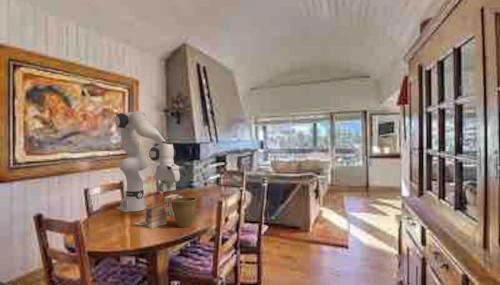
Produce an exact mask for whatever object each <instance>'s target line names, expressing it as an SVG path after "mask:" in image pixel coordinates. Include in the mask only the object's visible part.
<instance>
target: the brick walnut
mask: <svg viewBox="0 0 500 285" xmlns="http://www.w3.org/2000/svg"><path fill="white" fill-rule="evenodd" d="M145 211H146V212H145V213H146V215H145V217H150V218H153V217H157V216H161V215H164V214H165V206H164V205H161V204H160V205H155V206H150V207H146V209H145Z"/></svg>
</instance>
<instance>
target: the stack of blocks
mask: <svg viewBox="0 0 500 285" xmlns="http://www.w3.org/2000/svg"><path fill="white" fill-rule="evenodd" d="M182 197H184V196H183V195H180V194H168V195H167V196H165V197H163V201H164V202H163V206H165V214H167V216H174V212H173V208H172V203H171V200H172V199H175V198H182Z"/></svg>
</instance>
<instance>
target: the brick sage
mask: <svg viewBox="0 0 500 285" xmlns="http://www.w3.org/2000/svg"><path fill="white" fill-rule="evenodd" d="M176 184H177V182H174V183H173V185H172V188H169V185H170V181H165V182H164V183H161V182H158V188H157V189H158V192H162V193H165V192H169V191H176V189H177V186H176Z"/></svg>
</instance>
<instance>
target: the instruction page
mask: <svg viewBox="0 0 500 285" xmlns="http://www.w3.org/2000/svg"><path fill="white" fill-rule="evenodd" d="M133 225H136V226H144V225H145V220H142V221H138V222H133Z"/></svg>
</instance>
